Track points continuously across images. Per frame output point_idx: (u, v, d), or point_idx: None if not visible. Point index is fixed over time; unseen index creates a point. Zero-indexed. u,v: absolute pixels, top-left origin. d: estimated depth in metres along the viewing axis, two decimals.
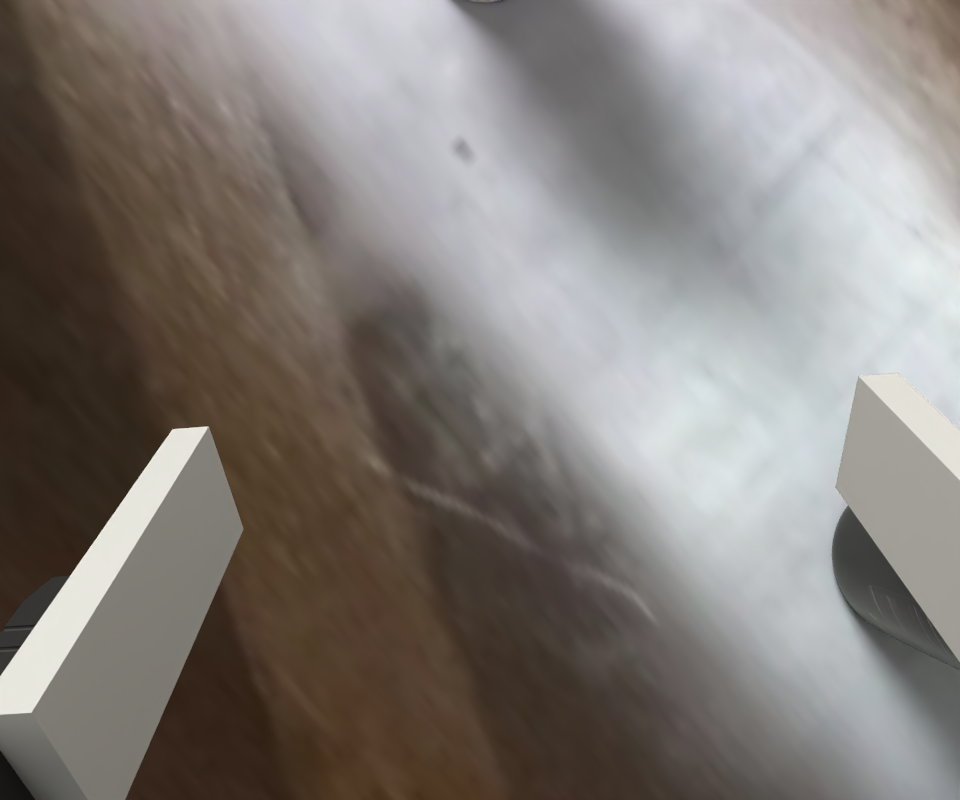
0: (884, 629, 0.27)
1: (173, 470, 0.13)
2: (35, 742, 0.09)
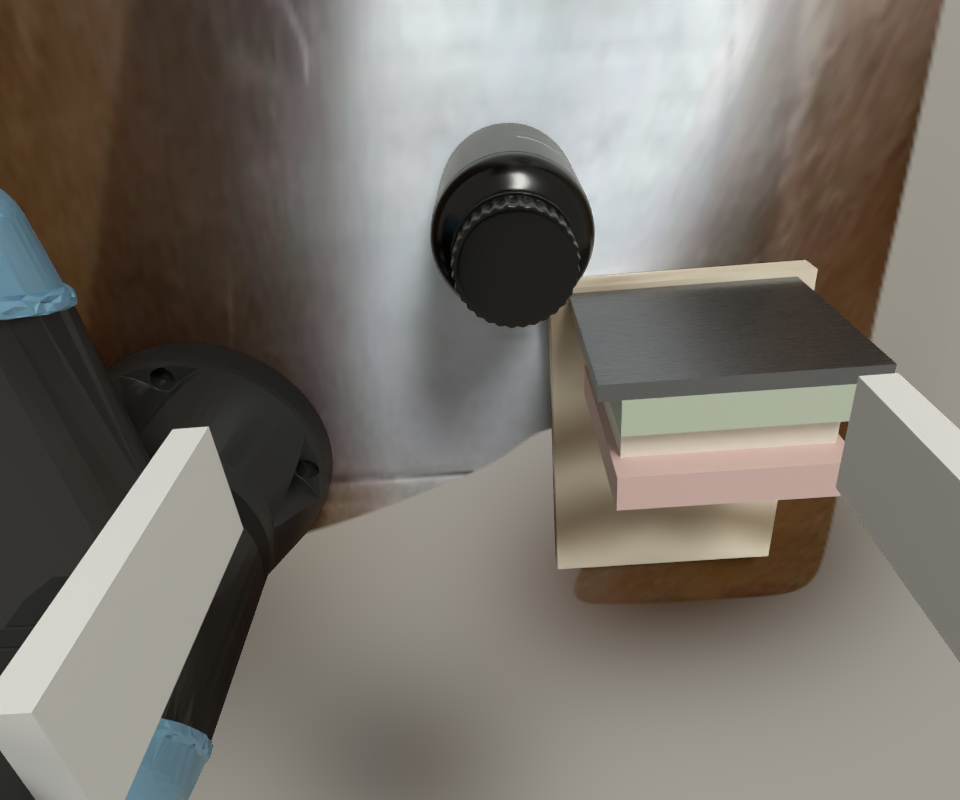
0: None
1: (173, 470, 0.13)
2: (35, 742, 0.09)
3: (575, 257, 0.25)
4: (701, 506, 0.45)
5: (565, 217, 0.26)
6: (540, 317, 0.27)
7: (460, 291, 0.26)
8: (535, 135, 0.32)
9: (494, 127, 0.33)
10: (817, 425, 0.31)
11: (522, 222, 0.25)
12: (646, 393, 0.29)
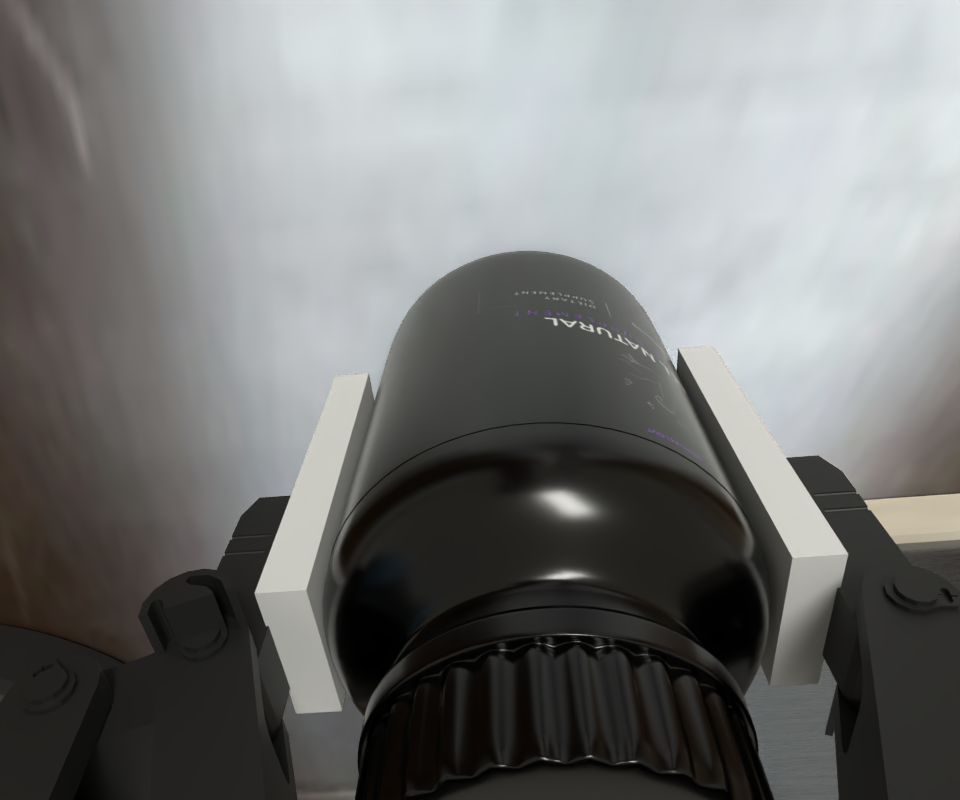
0: None
1: (351, 408, 0.14)
2: (301, 619, 0.10)
3: None
4: None
5: (727, 691, 0.08)
6: None
7: None
8: (591, 300, 0.14)
9: (496, 269, 0.15)
10: None
11: None
12: None
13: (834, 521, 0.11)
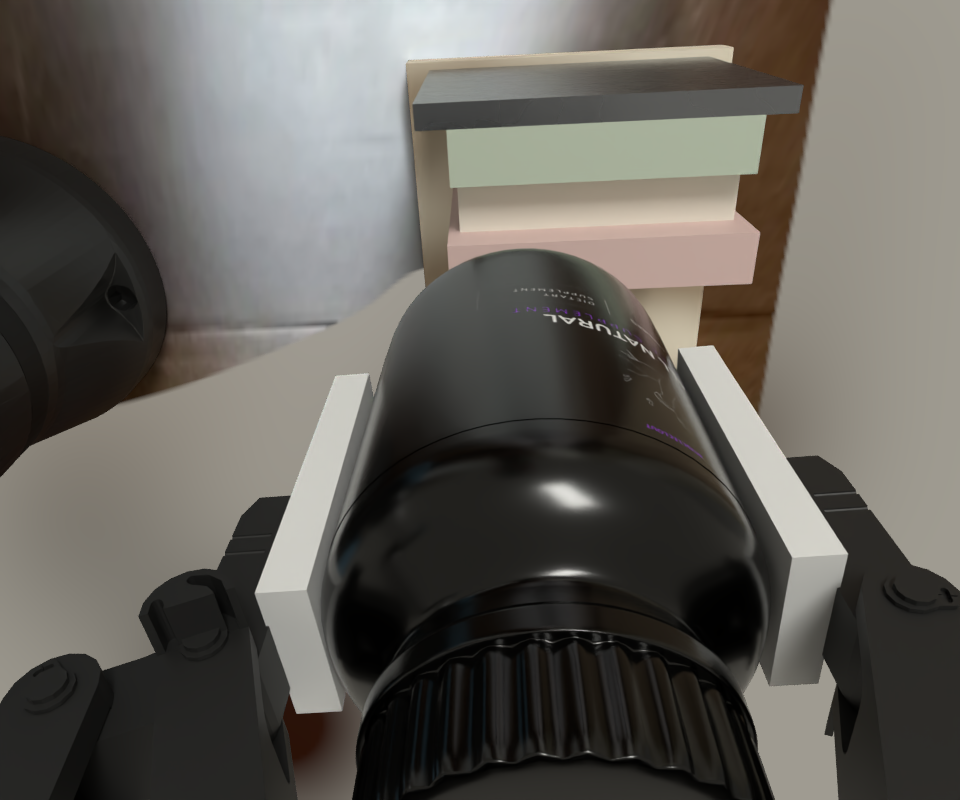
0: None
1: (351, 408, 0.14)
2: (301, 619, 0.10)
3: None
4: None
5: (726, 687, 0.08)
6: None
7: None
8: (590, 297, 0.14)
9: (495, 267, 0.15)
10: (709, 192, 0.24)
11: (593, 797, 0.07)
12: (477, 120, 0.22)
13: (834, 521, 0.11)
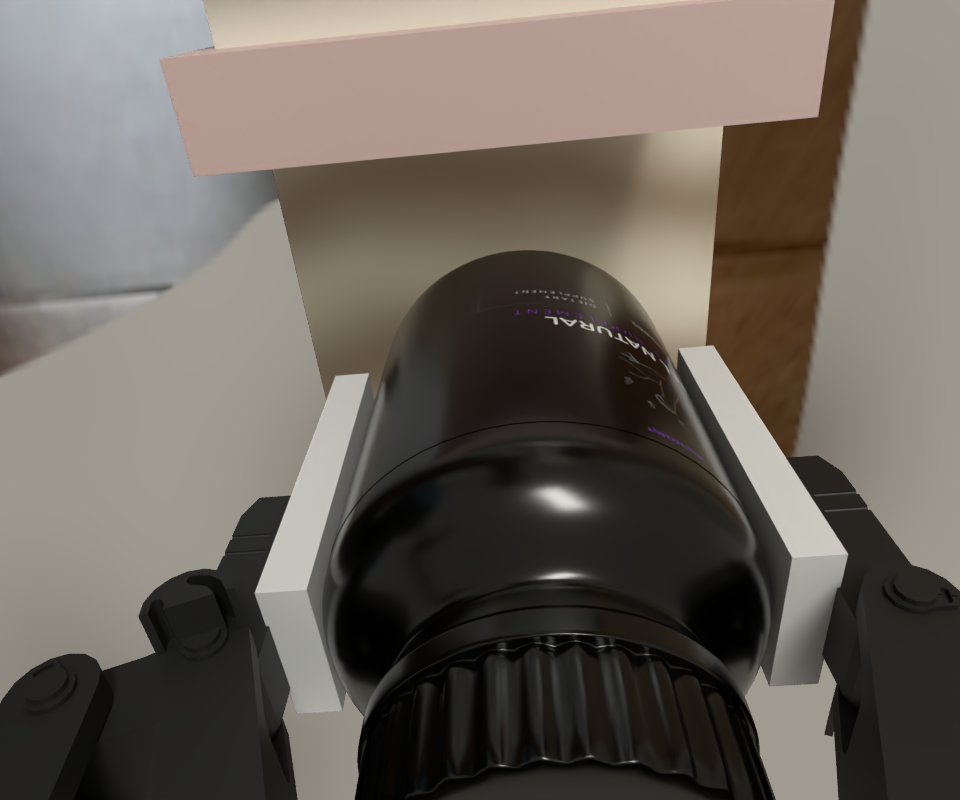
0: None
1: (351, 408, 0.14)
2: (301, 619, 0.10)
3: None
4: None
5: (728, 691, 0.08)
6: None
7: None
8: (591, 299, 0.14)
9: (496, 269, 0.15)
10: None
11: None
12: None
13: (834, 521, 0.11)
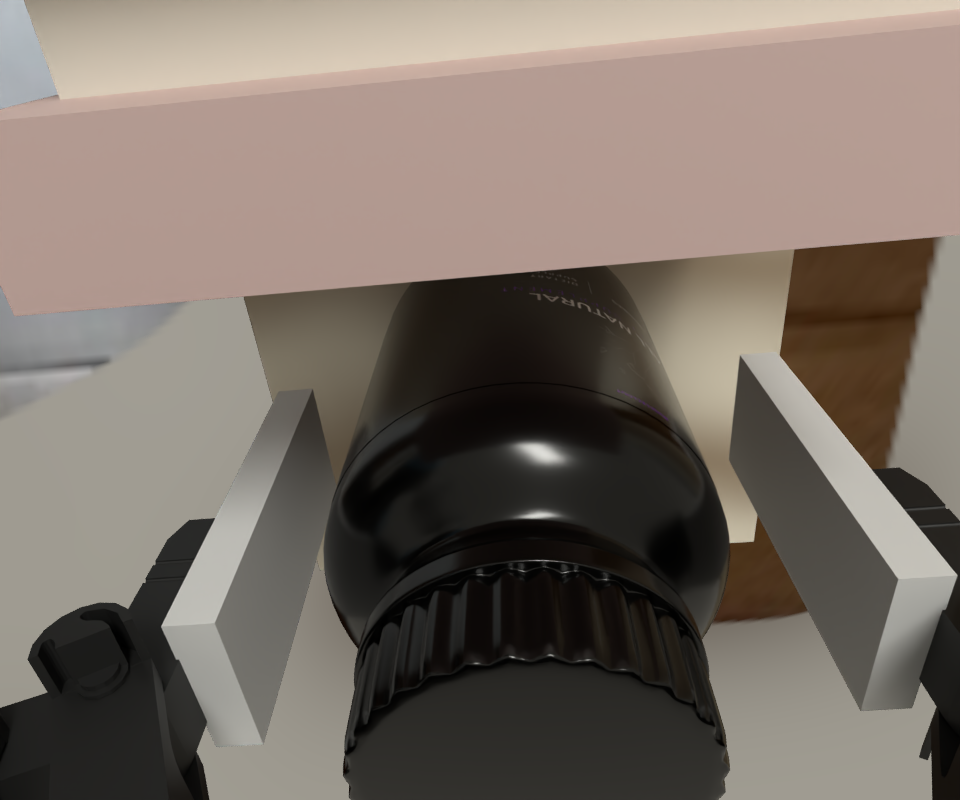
0: None
1: (289, 426, 0.14)
2: (212, 652, 0.10)
3: (717, 766, 0.08)
4: None
5: (679, 614, 0.09)
6: None
7: None
8: (574, 278, 0.15)
9: None
10: None
11: (556, 696, 0.08)
12: None
13: (928, 538, 0.11)
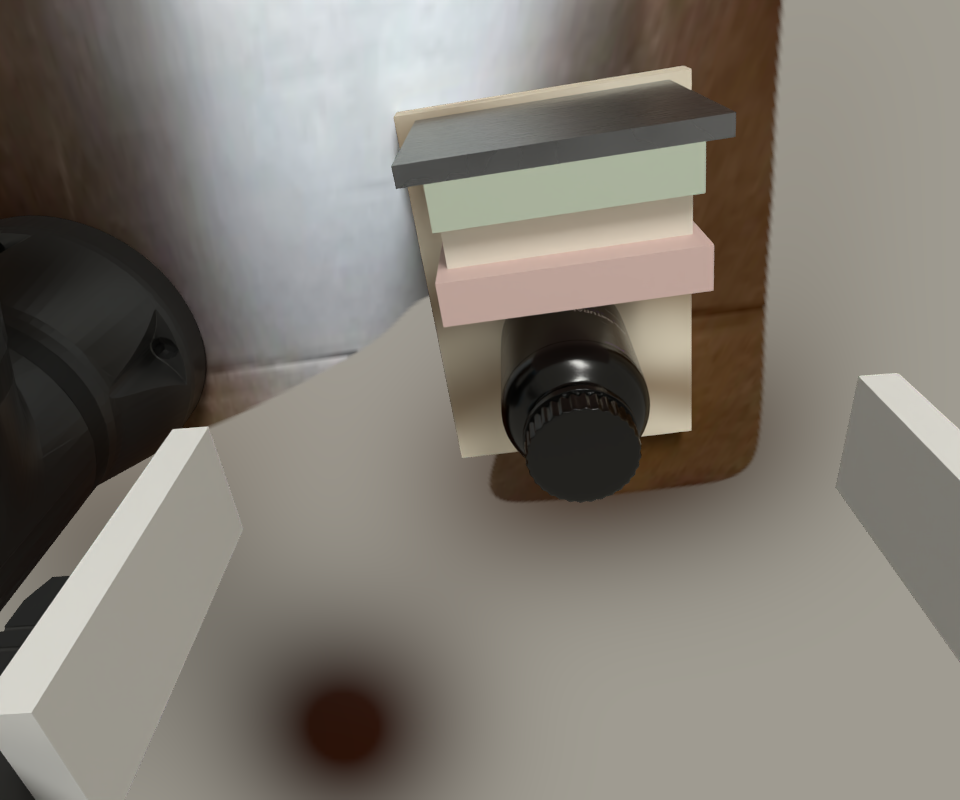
0: None
1: (173, 470, 0.13)
2: (35, 742, 0.09)
3: (636, 446, 0.28)
4: None
5: (625, 406, 0.29)
6: (606, 493, 0.30)
7: (534, 476, 0.29)
8: None
9: None
10: (666, 212, 0.27)
11: (588, 421, 0.28)
12: (449, 173, 0.25)
13: None
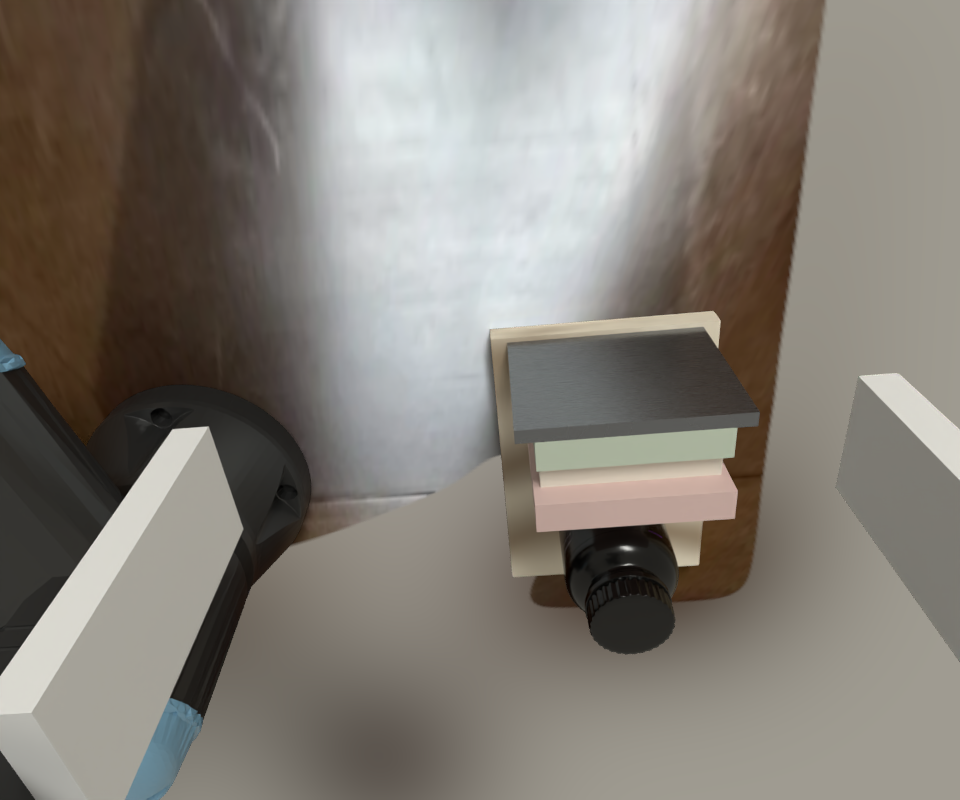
0: None
1: (173, 470, 0.13)
2: (35, 742, 0.09)
3: (672, 620, 0.39)
4: None
5: (664, 587, 0.39)
6: (646, 649, 0.40)
7: (594, 636, 0.39)
8: None
9: None
10: (704, 460, 0.37)
11: (639, 603, 0.38)
12: (554, 437, 0.35)
13: None
